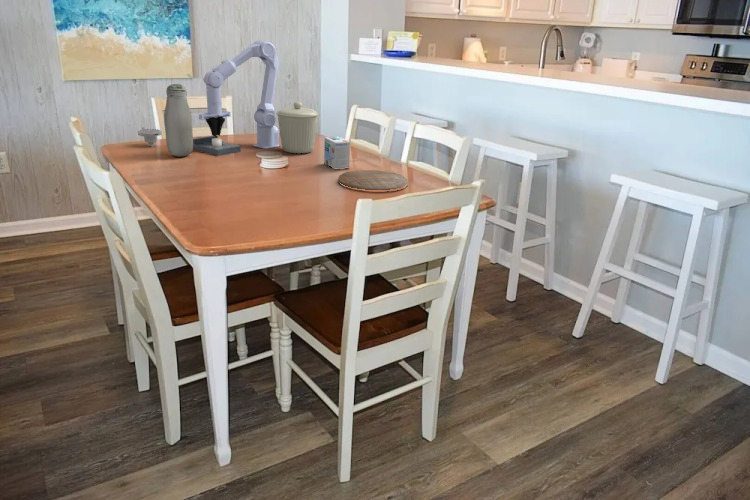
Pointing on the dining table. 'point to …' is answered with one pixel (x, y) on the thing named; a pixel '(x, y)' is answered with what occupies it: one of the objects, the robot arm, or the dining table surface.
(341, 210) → the dining table surface
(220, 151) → the jig
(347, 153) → the light bulb box
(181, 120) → the grey green bottle
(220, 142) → the white rounded capsule
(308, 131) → the canister
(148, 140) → the showerhead
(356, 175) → the trivet
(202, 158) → the dining table surface
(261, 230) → the dining table surface
